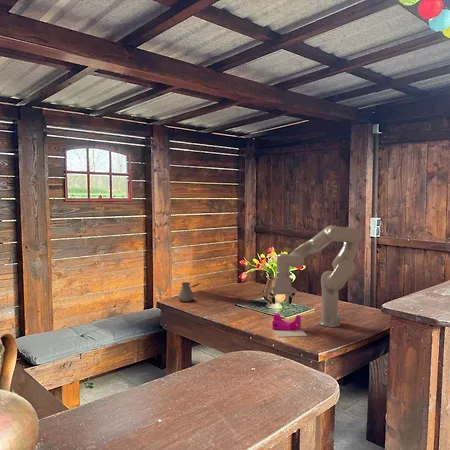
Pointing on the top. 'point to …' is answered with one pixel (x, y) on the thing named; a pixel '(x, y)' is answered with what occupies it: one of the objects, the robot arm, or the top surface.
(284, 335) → the mat
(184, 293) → the coffee pot
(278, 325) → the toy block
